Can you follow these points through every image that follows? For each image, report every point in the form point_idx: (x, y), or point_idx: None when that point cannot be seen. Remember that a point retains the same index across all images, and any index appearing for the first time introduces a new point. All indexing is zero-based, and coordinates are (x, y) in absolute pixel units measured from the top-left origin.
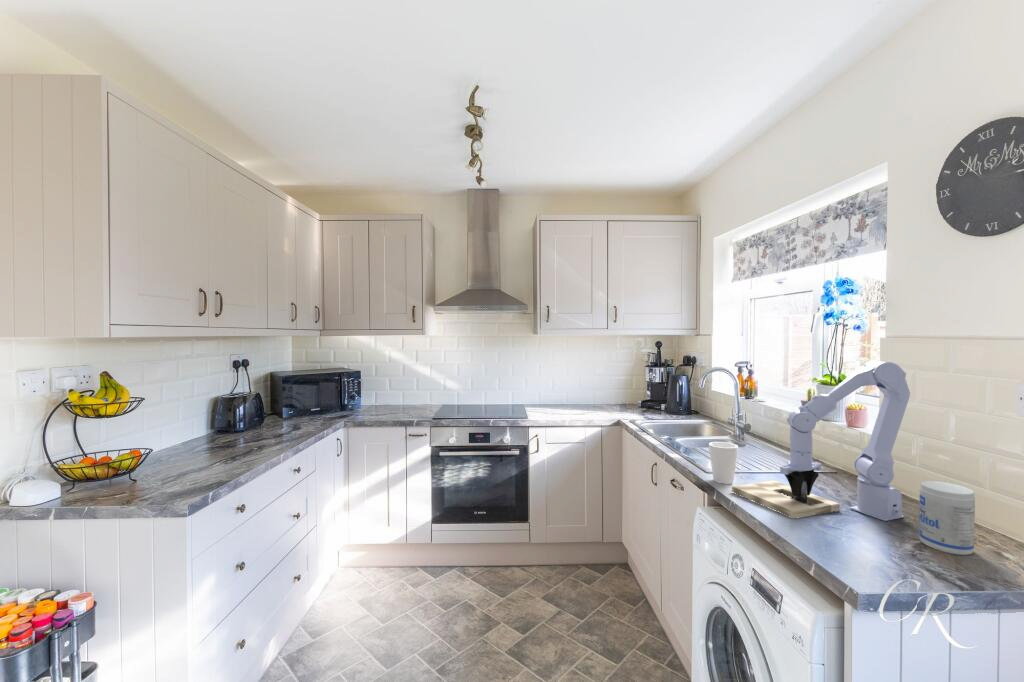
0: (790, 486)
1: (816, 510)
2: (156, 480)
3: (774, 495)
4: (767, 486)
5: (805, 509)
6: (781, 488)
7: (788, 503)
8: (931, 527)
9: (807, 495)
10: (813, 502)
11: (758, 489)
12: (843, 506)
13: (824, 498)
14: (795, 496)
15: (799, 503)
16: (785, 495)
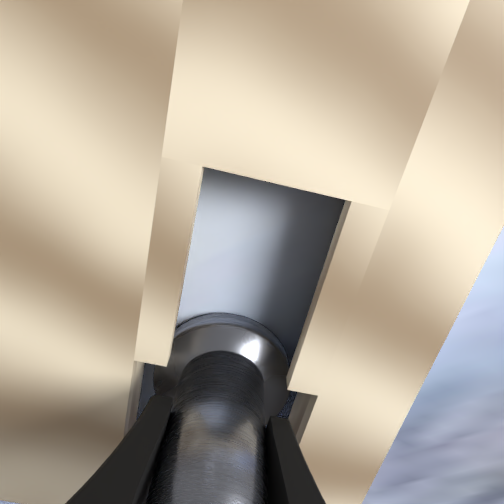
0: (111, 455)
1: None
2: None
3: (64, 265)
4: (283, 51)
5: (22, 502)
6: (347, 193)
7: (3, 412)
8: None
9: (336, 405)
10: (293, 426)
11: (61, 55)
12: (430, 491)
13: (368, 484)
14: (177, 397)
15: (89, 446)
16: (163, 317)
